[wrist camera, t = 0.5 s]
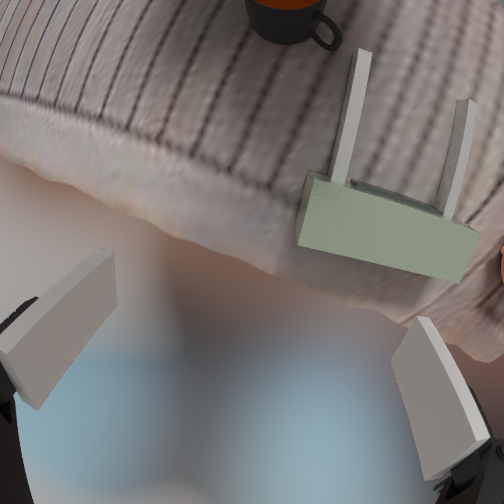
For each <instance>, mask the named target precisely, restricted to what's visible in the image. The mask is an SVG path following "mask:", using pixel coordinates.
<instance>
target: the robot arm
mask: <svg viewBox="0 0 504 504" xmlns="http://www.w3.org/2000/svg"><path fill="white" fill-rule="evenodd" d="M116 306H117V294H116V280H115V260H114V252H112V251H109V250H105V249H101V248H99V249H98V250H97V251H95V252H94V253H93V254H91V255H90V256H89V257H88V258H86V259H85V260H84V261H82V262H81V263H80V264H79V265H77V266H76V267H75V268H74V269H72V270H71V271H70V272H69V273H68V274H66V275H65V276H64V277H63V278H62V279H60V280H59V281H58V282H57V283H56V284H55V285H53V286H52V287H51V288H50V289H49V290H48V291H47V292H45V293H44V294H43V295H42V296H41V297H40V298H38V297H34V298H32V299H30V300H28V301H25V302H24V303H23V304H22V305H21V306H19V308H17V309H16V312H13V313H12V314H11V315H10V316H9V318H6V319H5V320H4V322H2V323H1V324H0V504H34V502H33V499H32V496H31V492H30V488H29V485H28V481H27V477H26V473H25V468H24V464H23V459H22V454H21V447H20V441H19V434H18V427H17V418H16V407H15V400H14V397H13V395H14V393H15V392H16V391H17V392H18V394H19V396H20V397H21V399H22V400H23V401H24V402H25V403H26V404H28V405H29V406H31V407H33V408H34V409H36V410H37V411H38V410H39V409H40V407H41V406H42V404H43V403H44V401H45V400H46V398H47V397H48V396H49V394H50V393H51V391H52V390H53V388H54V387H55V386H56V384H57V383H58V381H59V380H60V379H61V377H62V376H63V374H64V373H65V372H66V370H67V369H68V368H69V366H70V365H71V364H72V362H73V361H74V359H75V358H76V357H77V356H78V354H79V353H80V352H81V350H82V349H83V348H84V346H85V345H86V344H87V342H88V341H89V340H90V339H91V337H92V336H93V335H94V333H95V332H96V331H97V330H98V328H99V327H100V326H101V325H102V323H103V322H104V321H105V320H106V318H107V317H108V316H109V315H110V313H111V312H112V311H113V310H114V309H115V307H116ZM390 362H391V364H392V367H393V370H394V373H395V376H396V379H397V382H398V385H399V388H400V391H401V395H402V398H403V401H404V404H405V407H406V411H407V414H408V417H409V421H410V424H411V428H412V432H413V435H414V438H415V443H416V447H417V450H418V454H419V458H420V463H421V467H422V471H423V476H424V481H428V480H432V479H437V478H440V477H441V476H443V475H444V474H446V473H447V472H448V471H450V470H451V474H452V475H451V476H450V477H448V478H447V479H445V480H444V481H442V482H441V483H439V484H438V485H436V486H435V488H434V491H435V490H437V489H438V488H440V487H441V486H443V485H444V486H443V488H442V489H440V490H439V491H438V493H440V495H439V498H438V500H437V502H436V504H504V440H503V439H495V437H494V435H493V433H492V430H491V428H490V425H489V423H488V421H487V418H486V416H485V414H484V412H483V411H482V407H481V405H480V403H478V399H477V397H476V395H475V393H474V391H473V390H472V388H471V387H470V386H469V385H468V384H467V383H466V382H465V380H464V378H463V377H462V374H461V372H460V371H459V369H458V367H457V365H456V363H455V361H454V359H453V357H452V356H451V354H450V352H449V350H448V349H447V347H446V345H445V343H444V342H443V340H442V338H441V336H440V335H439V333H438V331H437V330H436V328H435V326H434V325H433V323H432V321H431V320H430V318H428V317H422V316H416V317H415V319H414V321H413V323H412V325H411V327H410V328H409V330H408V332H407V334H406V336H405V337H404V339H403V341H402V343H401V344H400V346H399V347H398V349H397V351H396V352H395V354H394V355H393V357H392V359H391V361H390Z"/></svg>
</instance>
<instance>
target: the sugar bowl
mask: <svg viewBox="0 0 504 504" xmlns="http://www.w3.org/2000/svg"><path fill="white" fill-rule="evenodd" d="M501 253H502V254H503V255H502V260H501V275H502V280H503V283H504V246H502V248H501Z"/></svg>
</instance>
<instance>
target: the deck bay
mask: <svg viewBox="0 0 504 504" xmlns="http://www.w3.org/2000/svg"><path fill="white" fill-rule="evenodd" d="M371 58H372V52H369V51H366V50H363V49H360V48H359V49H358V50H357V51H356V52H355V53H354V54H353V57H352V63H351V68H350V74H349V79H348V84H347V89H346V94H345V99H344V104H343V109H342V114H341V118H340V123H339V127H338V132H337V136H336V141H335V145H334V149H333V154H332V158H331V162H330V166H329V170H328V174H327V175H324V174H320V173H316V172H312V171H308V173H307V177H306V181H305V185H304V189H303V194H302V198H301V202H300V206H299V210H298V214H297V218H296V222H295V231H296V238H297V245H298V246H302V247H307V248H311V249H316V250H320V251H324V252H329V253H333V254H338V255H342V256H346V257H350V258H355V259H359V260H363V261H368V262H372V263H376V264H380V265H384V266H389V267H393V268H397V269H401V270H405V271H409V272H414V273H418V274H422V275H426V276H430V277H434V278H438V279H442V280H446V281H450V282H454V283H458V284H459V283H460V281H461V279H462V276H463V274H464V272H465V270H466V267H467V265H468V263H469V260H470V258H471V255H472V253H473V250H474V248H475V245H476V243H477V240H478V237H479V234H480V233H479V232H477V231H476V230H474V229H473V228H471V227H470V226H468V225H466V224H465V223H463V222H462V221H460V220H458V219H457V218H455V217H453V213H454V209H455V206H456V203H457V200H458V196H459V193H460V189H461V186H462V182H463V178H464V174H465V170H466V166H467V162H468V158H469V153H470V148H471V144H472V138H473V133H474V127H475V121H476V114H477V107H478V104H477V103H475V102H473V101H472V100H470V99H463V100H457V106H456V113H455V119H454V124H453V130H452V135H451V140H450V145H449V149H448V154H447V158H446V162H445V166H444V170H443V174H442V178H441V182H440V185H439V189H438V192H437V196H436V199H435V202H434V206H432V205H430V204H427V203H424V202H421V201H419V200H416V199H413V198H410V197H407V196H404V195H401V194H398V193H395V192H392V191H389V190H386V189H383V188H380V187H377V186H373V185H370V184H367V183H364V182H360V181H357V180H353V179H351V181H350V182H349V181H346V176H347V172H348V168H349V165H350V160H351V156H352V152H353V148H354V144H355V139H356V135H357V131H358V126H359V122H360V117H361V112H362V107H363V102H364V97H365V92H366V87H367V81H368V76H369V70H370V64H371Z"/></svg>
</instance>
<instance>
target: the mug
mask: <svg viewBox="0 0 504 504" xmlns="http://www.w3.org/2000/svg"><path fill="white" fill-rule="evenodd" d="M326 1H327V0H244V2H245V5H246V8H247V11H248V15H249V18H250V21H251V24H252V26H253V28H254V30H255V31H256V32H257V33H258V34H259V35H260V36H261V37H263V38H264V39H266V40H268V41H271V42H274V43H278V44H295V43H299V42H302V41H305V40H306V39H308V38H309V37H312V38H313V39H314V40H315V41H316V42H317V43H318V44H319V45H320V46H321V47H322V48H324V49H326V50H328V51H336V50H337V49H338V48H339V46H340V45H341V43H342V35H341V32H340V30H339V28H338V27H337V25H336V24H335V23H334V22H333V21H332V20H331V19H330V18H328V17H327V16H325V15H324V14H323V10H324V7H325V4H326ZM320 21H322V22H324V23H325V24H327V25H328V26H329V28H330V29H331V30H332V32H333V34H334V40H333V42H332V44H331V45H328V44H326V43H325V42H324V41H323V40H322V39H321V38H320V37H319V36H318V35H317V34H316V32H315V31H316V29H317V27H318V25H319V22H320Z"/></svg>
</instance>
